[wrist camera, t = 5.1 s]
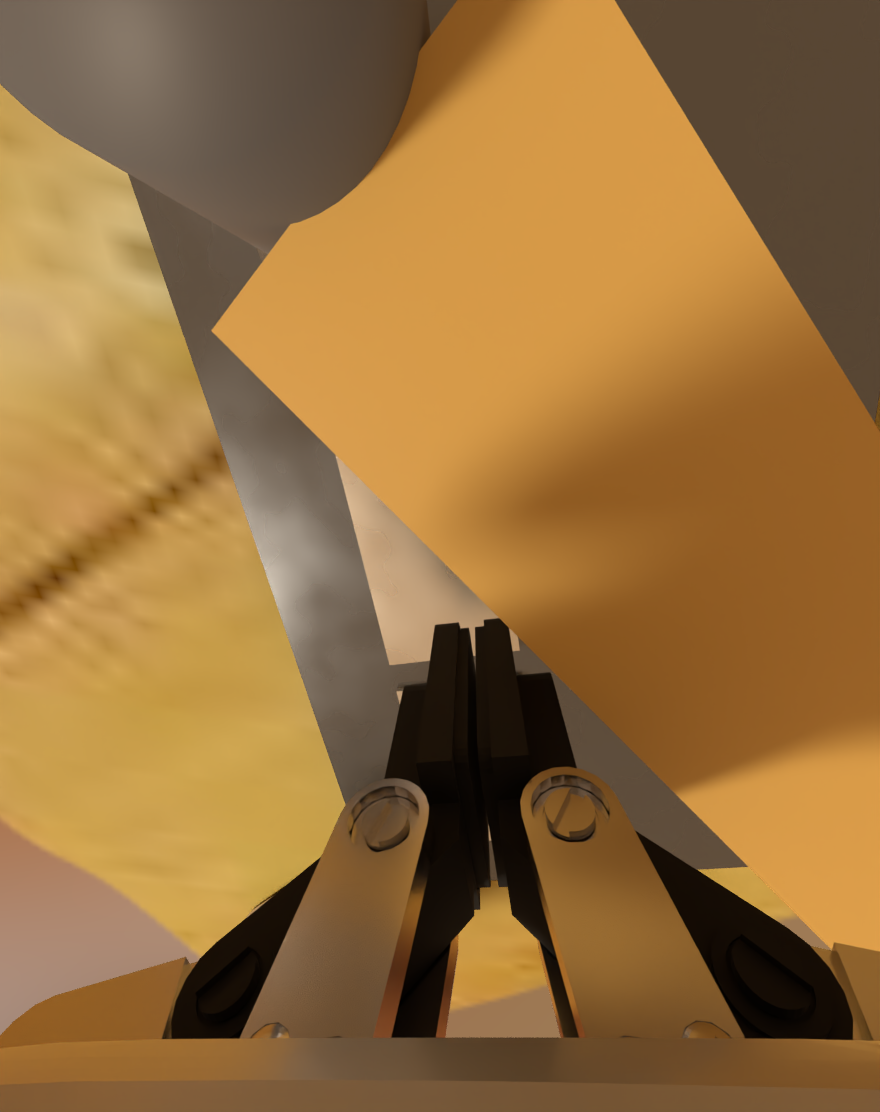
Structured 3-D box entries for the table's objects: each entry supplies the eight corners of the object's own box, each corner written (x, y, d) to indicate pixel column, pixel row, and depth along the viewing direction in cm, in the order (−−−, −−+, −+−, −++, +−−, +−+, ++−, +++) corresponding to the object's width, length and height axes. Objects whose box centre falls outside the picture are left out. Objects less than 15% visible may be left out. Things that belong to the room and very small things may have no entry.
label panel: (147, 127, 11) (80, 77, 9) (892, -82, 9) (1005, -201, 7) (380, 850, 20) (371, 899, 18) (776, 825, 18) (811, 878, 16)
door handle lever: (214, 223, 9) (-267, -55, 3) (379, -17, 8) (63, -1368, 2) (771, 818, 15) (991, 1144, 8) (934, 740, 13) (1345, 1067, 7)
